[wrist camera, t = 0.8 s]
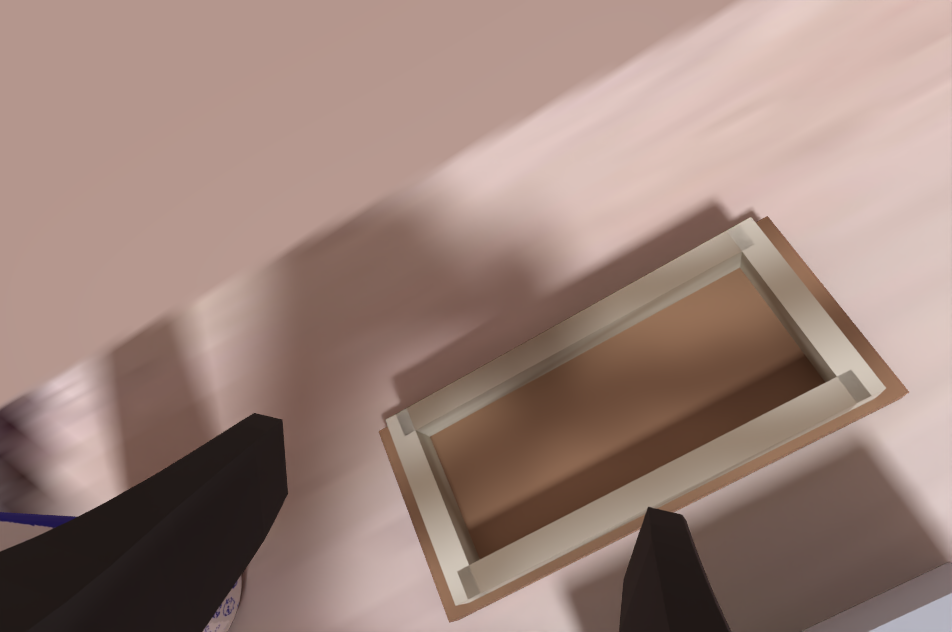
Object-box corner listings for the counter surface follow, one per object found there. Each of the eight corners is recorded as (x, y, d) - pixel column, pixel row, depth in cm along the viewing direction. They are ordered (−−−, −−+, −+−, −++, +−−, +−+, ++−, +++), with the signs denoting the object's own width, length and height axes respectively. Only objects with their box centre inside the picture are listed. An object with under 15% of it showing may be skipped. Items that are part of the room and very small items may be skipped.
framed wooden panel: (900, 398, 22) (922, 381, 20) (458, 620, 25) (434, 626, 22) (765, 227, 26) (770, 197, 24) (388, 435, 28) (362, 424, 26)
